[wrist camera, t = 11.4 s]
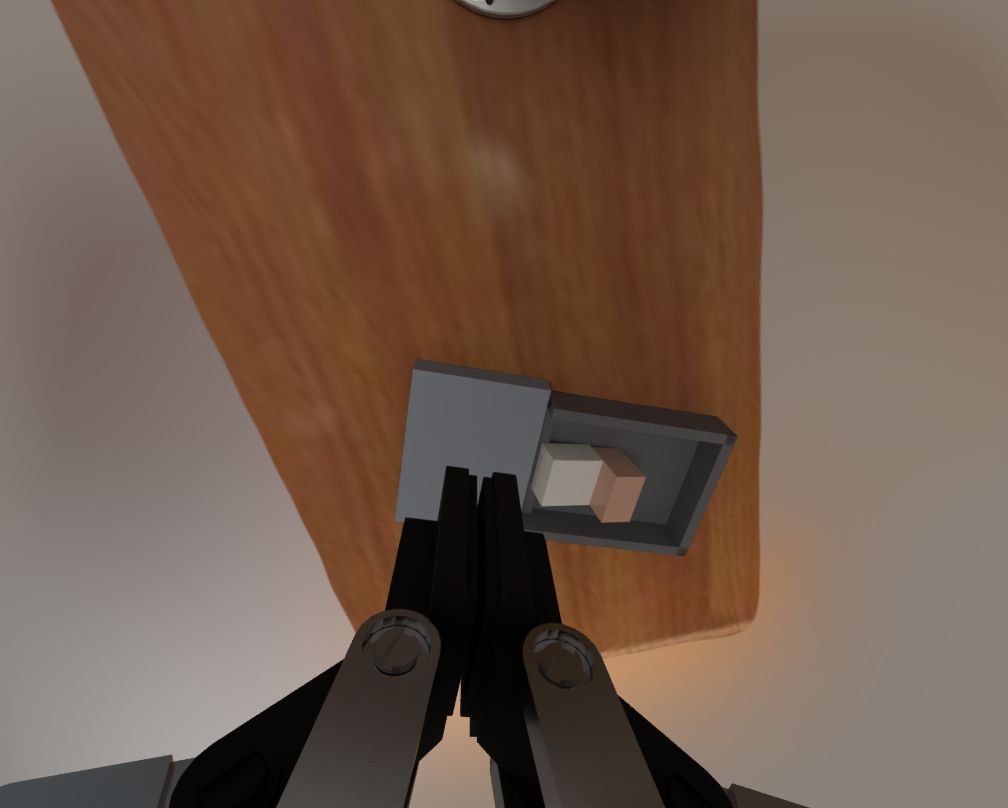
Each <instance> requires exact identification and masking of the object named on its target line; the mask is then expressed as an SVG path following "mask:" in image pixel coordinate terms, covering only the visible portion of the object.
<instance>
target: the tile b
mask: <svg viewBox="0 0 1008 808" xmlns="http://www.w3.org/2000/svg"><path fill="white" fill-rule="evenodd" d="M592 449H593V450H594V451H595V452H596V453H597V454H598V456H599V457H600V458H601V459H602V460H603V462H602V466H601V469H600V472H599V475H598V478H597V481H596V484H595V488H594V491H593V494H592V497H591V500H590V503H589V505H590V507H591V508H592V509H593V511H594V512H595V514H596V515H597V517H598V518H599V520H600V521H601V523H602V522H630V519H631V516H632V514H633V511H634V508H635V506H636V503H637V500H638V497H639V495H640V492H641V489H642V487H643V484H644V481H645V478H646V477H645V475H644V474H643V473H642V472H641V471H640V470H639V469H638V468H637V467H636V466H635V464H634V463H633V462H632V461H631V460H630V459H629V458H628V457H627V456H626V455H625V454H624V452H623V451H622V450H621V449H620V448H600V447H592Z"/></svg>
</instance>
